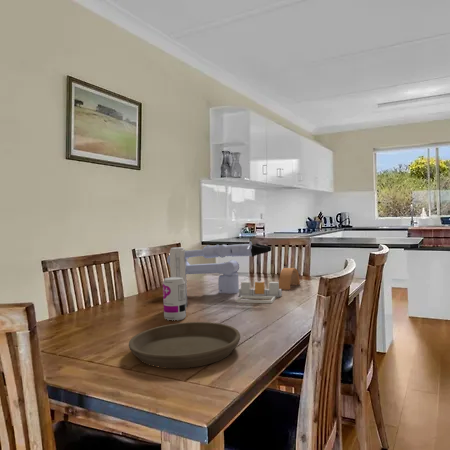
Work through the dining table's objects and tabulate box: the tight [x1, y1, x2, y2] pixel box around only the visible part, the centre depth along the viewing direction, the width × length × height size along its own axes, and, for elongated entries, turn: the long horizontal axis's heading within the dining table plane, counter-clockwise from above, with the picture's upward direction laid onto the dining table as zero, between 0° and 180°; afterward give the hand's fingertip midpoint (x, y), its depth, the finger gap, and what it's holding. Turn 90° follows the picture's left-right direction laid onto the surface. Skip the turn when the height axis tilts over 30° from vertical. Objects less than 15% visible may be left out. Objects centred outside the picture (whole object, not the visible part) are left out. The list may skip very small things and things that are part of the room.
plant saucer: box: [128, 321, 241, 369], centre depth 113 cm, size 31×31×5 cm
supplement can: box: [162, 276, 187, 322], centre depth 150 cm, size 8×8×15 cm
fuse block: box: [238, 287, 283, 298], centre depth 183 cm, size 19×7×4 cm, turn 73°
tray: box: [235, 296, 276, 304], centre depth 172 cm, size 15×9×2 cm, turn 73°
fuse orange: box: [254, 280, 266, 294], centre depth 183 cm, size 4×2×6 cm, turn 73°
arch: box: [278, 267, 301, 291], centre depth 203 cm, size 6×20×10 cm, turn 155°
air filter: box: [169, 246, 188, 308], centre depth 169 cm, size 6×6×25 cm
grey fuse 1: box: [240, 281, 252, 294], centre depth 184 cm, size 4×2×6 cm, turn 73°
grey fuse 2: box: [268, 281, 279, 294], centre depth 181 cm, size 4×2×6 cm, turn 73°
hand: (269, 249), depth 187 cm, fingers open, 7 cm apart
